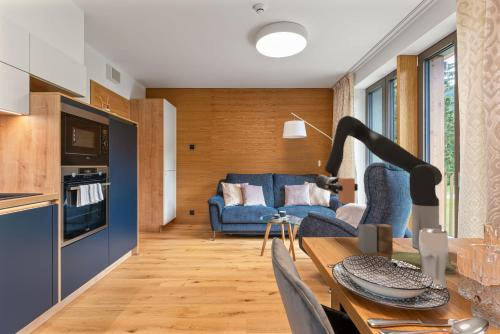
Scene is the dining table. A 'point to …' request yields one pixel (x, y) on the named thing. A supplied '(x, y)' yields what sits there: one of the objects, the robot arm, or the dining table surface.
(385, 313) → the dining table surface
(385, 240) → the walnut block
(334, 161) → the robot arm
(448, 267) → the washcloth
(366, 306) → the dining table surface
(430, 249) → the beer glass
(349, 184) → the terracotta block
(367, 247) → the slate-grey block
